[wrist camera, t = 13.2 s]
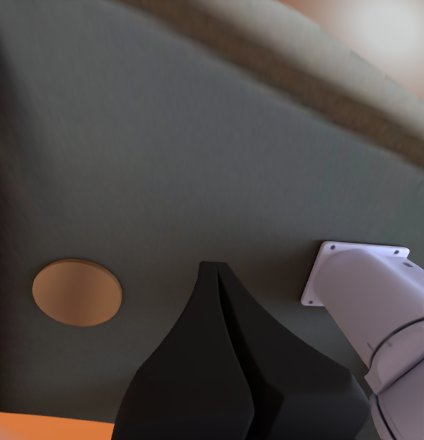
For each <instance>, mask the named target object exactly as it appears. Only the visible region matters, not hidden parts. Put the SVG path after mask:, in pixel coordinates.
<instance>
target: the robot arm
mask: <svg viewBox="0 0 424 440" xmlns="http://www.w3.org/2000/svg"><path fill="white" fill-rule="evenodd" d="M332 245H333V246H332ZM331 246H332V247H331ZM330 247H331V248H330ZM394 251H395V252H394ZM408 254H409V249H407V248H405V247H396V246H384V245H372V244H359V243H347V242H334V241H325V242H323V243H322V245H321V247H320V250H319V253H318V255H317V258H316V261H315V263H314V266H313V269H312V271H311V274H310V277H309V279H308V282H307V284H306V287H305V290H304V292H303V295H302V298H301V303H302V304H303V305H307V306H325V308H326V309H327V310H328V312H329V313H330V315H331V316H332V317H333V319H334V320H335V322H336V323H337V325H338V326H339V327H340V329H341V330H342V332H343V333H344V335H345V336H346V337H347V339H348V340H349V342H350V343H351V345H352V346H353V347H354V349H355V350H356V352H357V353H358V354H359V356H360V357H361V359H362V360H363V362H364V363H365V364H366V366H367V367H368V369H369V370H370V371H369V372H368V374H367V375H366V376H365V377H364V378H365V379H366V381H367V382H368V384H369V385H370V387H371V388H372V390H373V391H374V393H372V395H371V396H370V399H369V400H368V398H367V397H366V395H365V393H364V392H363V390H362V389H361V387H360V385H359V384H358V382H357V381H356V379H355V378H354V376H353V375H352V373H351V372H350V370H349V369H347V368H345V367H344V366H342V365H340V364H338V363H337V362H335V361H333V360H332V359H330V358H328V357H327V356H325V355H323V354H322V353H320V352H319V351H317V350H316V349H314V348H313V347H311V346H310V345H308V344H307V343H305V342H304V341H302V340H301V339H300V338H298V337H297V336H296V335H294V334H293V333H292V332H290V331H289V330H288V329H287V328H285V327H284V326H283V325H282V324H280V323H279V322H278V321H277V320H276V319H275V318H274V317H272V316H271V315H270V314H269V313H268V312H267V311H266V310H265V309H264V308H263V307H262V306H261V305H260V304H259V303H258V302H257V301H256V300H255V299H254V298H253V297H252V295H251V294H250V293H249V292H248V291H247V289H246V288H245V287H244V286H243V285H242V283H241V282H240V281H239V279H238V278H237V277H236V275H235V274H234V273H233V271H232V270H231V268H230V267H229V266H228V264H227V263H224V262H208V261H202V262H200V264H199V271H198V279H197V281H196V284H195V287H194V290H193V292H192V294H191V296H190V299H189V301H188V303H187V305H186V306H185V308H184V310H183V312H182V314H181V315H180V317H179V318H178V320H177V322H176V323H175V325H174V326H173V328H172V329H171V330H170V332H169V333H168V335H167V336H166V337H165V338H164V340H163V341H162V342H161V344H160V345H159V346H158V347H157V349H156V350H155V351H154V352H153V353H152V354H151V356H150V357H149V358H148V359H147V360H146V361H145V362H144V363H143V364H142V366H141V367H140V368H139V369H138V370H137V372H136V374H135V376H134V378H133V380H132V381H131V383H130V385H129V387H128V389H127V391H126V394H125V396H124V398H123V400H122V403H121V405H120V408H119V411H118V414H117V417H116V420H115V425H114V429H113V433H112V438H111V440H356V436H357V435H358V434H359V432H360V431H361V430H362V428H363V427H364V425H365V424H366V423H367V421H368V419H369V417H370V415H371V414H372V417H373V421H374V424H375V426H376V429H377V431H378V433H379V436H380V437H381V439H382V440H424V270H423V269H422V268H420V267H419V266H417V265H416V264H414V263H412V262H411V261H409V260H408V259H406V257H407V256H408Z"/></svg>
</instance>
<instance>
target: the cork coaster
mask: <svg viewBox="0 0 424 440" xmlns="http://www.w3.org/2000/svg"><path fill="white" fill-rule="evenodd" d="M32 291H33V296H34V299H35V301H36V303H37V305H38V306H39V307H40V308H41V310H42V311H43V312H45V313H46V314H47V315H48V316H50V317H51V318H53V319H55V320H57V321H59V322H62V323H65V324H69V325H74V326H93V325H97V324H101V323H103V322H105V321H107V320H109V319H110V318H111V317H113V316H114V315H115V314H116V312H117V311H118V309H119V307H120V304H121V301H122V289H121V286H120V284H119V282H118V280H117V279H116V277H115V276H114V275H113V274H112V273H111V272H110V271H108V270H107V269H106V268H104V267H102V266H101V265H99V264H96V263H94V262H91V261H87V260H83V259H63V260H59V261H56V262H53V263H51V264H49V265H48V266H46V267H45V268H44V269H43V270H42V271H41V272H40V273H39V274H38V275H37V276H36V278H35V280H34V283H33V289H32Z"/></svg>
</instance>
